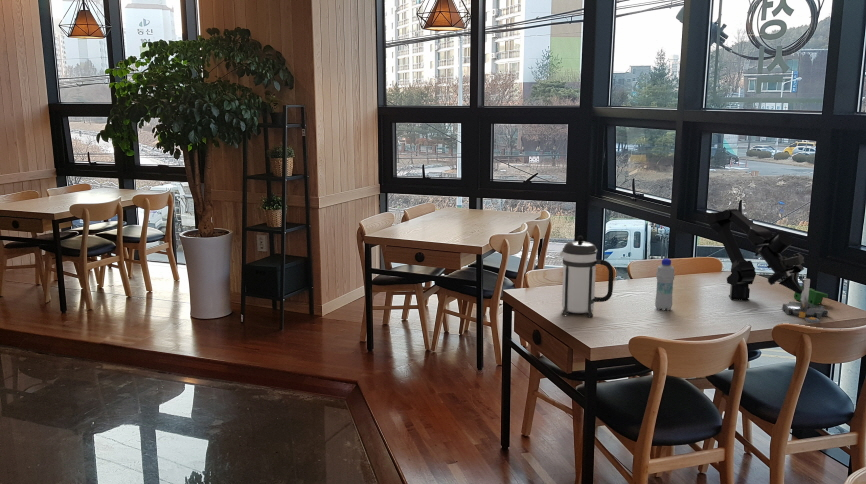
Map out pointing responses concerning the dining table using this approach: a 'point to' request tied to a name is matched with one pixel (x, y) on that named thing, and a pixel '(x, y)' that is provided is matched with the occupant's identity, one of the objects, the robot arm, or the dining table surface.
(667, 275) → the bottle
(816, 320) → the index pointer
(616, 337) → the dining table surface
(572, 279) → the coffee press
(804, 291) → the sprocket
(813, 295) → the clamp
